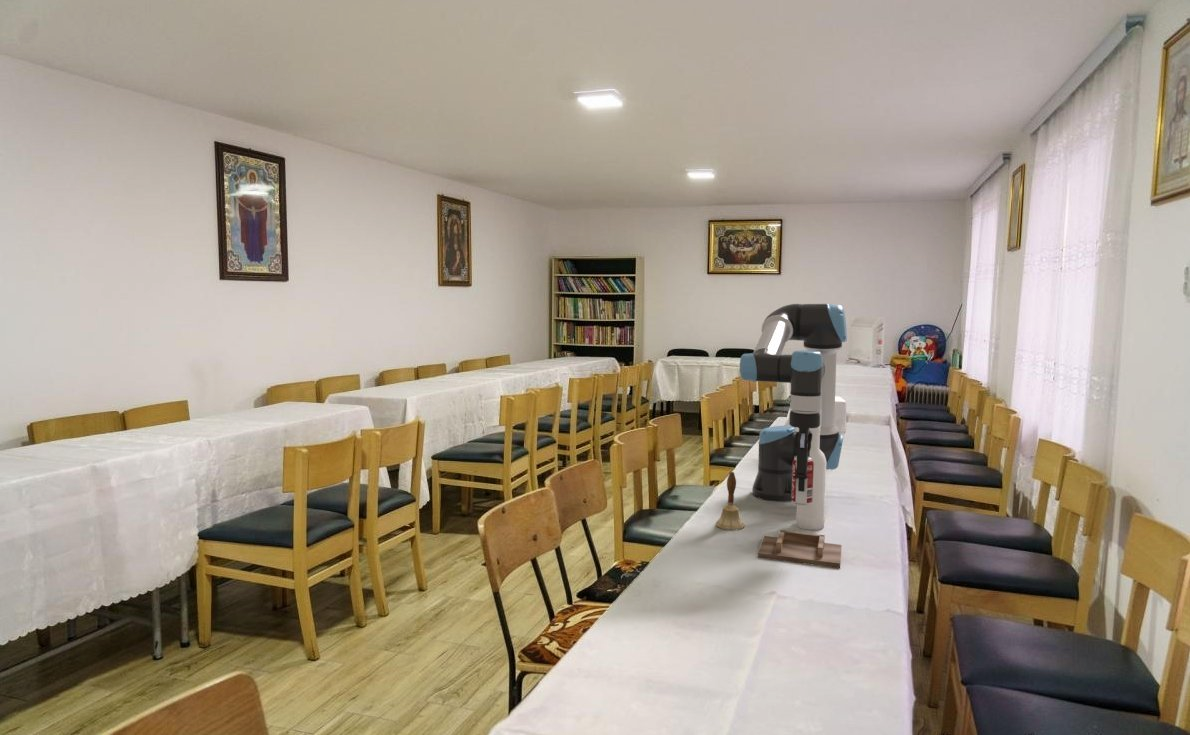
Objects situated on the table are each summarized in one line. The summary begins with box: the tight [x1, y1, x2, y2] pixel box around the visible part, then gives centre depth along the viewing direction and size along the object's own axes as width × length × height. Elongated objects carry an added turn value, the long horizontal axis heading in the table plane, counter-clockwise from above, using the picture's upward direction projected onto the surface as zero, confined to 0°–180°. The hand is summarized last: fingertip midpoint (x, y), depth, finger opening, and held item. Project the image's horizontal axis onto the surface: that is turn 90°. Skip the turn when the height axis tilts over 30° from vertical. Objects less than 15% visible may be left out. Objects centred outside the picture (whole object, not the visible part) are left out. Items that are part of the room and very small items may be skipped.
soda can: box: [790, 456, 814, 506], centre depth 181 cm, size 5×5×12 cm
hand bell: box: [715, 471, 745, 531], centre depth 204 cm, size 8×8×16 cm
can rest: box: [757, 529, 842, 569], centre depth 183 cm, size 14×20×4 cm
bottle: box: [795, 426, 827, 531], centre depth 204 cm, size 8×8×30 cm
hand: (801, 499), depth 182 cm, fingers closed on soda can, 5 cm apart
